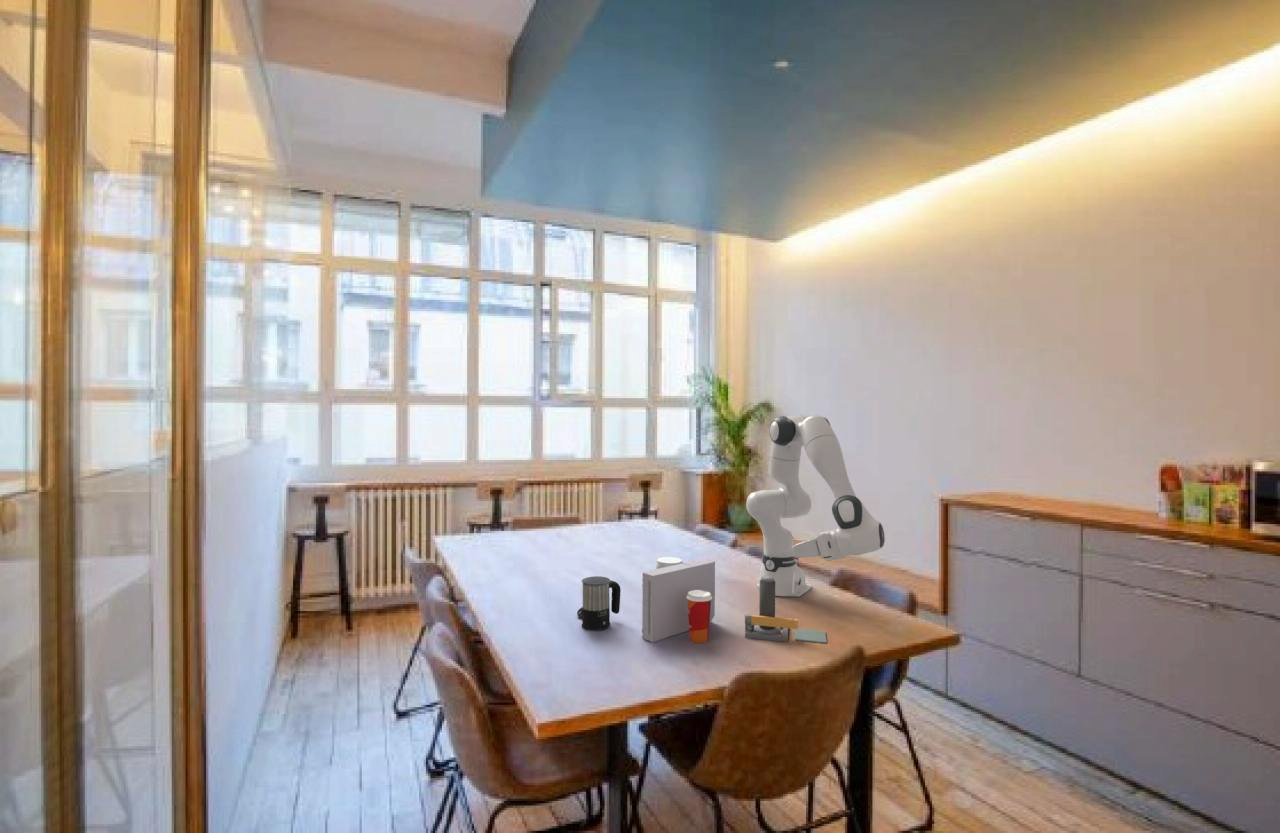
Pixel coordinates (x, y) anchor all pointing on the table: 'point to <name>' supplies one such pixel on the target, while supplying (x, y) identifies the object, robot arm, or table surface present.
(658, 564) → the supplement tub
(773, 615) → the plug
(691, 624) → the paper cup
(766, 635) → the gray angle bracket
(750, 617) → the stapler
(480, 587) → the table surface
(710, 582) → the game console
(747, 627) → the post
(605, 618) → the milk frother
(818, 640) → the pad
